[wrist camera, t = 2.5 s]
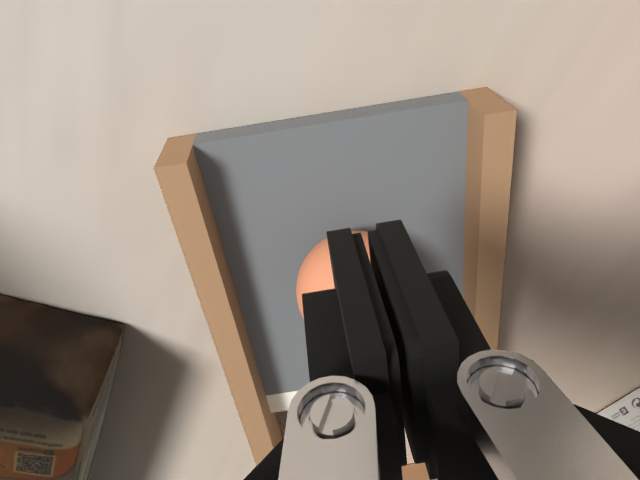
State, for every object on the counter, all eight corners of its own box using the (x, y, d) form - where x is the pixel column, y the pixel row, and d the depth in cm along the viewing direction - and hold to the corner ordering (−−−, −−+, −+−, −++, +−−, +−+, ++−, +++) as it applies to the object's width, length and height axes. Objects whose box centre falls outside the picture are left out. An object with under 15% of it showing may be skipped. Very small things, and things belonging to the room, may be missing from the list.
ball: (285, 218, 22) (288, 289, 18) (397, 200, 22) (428, 267, 18) (302, 305, 25) (309, 384, 20) (402, 289, 25) (430, 365, 20)
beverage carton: (-46, 500, 33) (-111, 617, 27) (-40, 274, 24) (-135, 381, 18) (81, 514, 35) (46, 626, 29) (132, 312, 26) (94, 419, 20)
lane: (167, 138, 21) (141, 193, 17) (486, 87, 21) (542, 128, 17) (281, 497, 35) (283, 574, 31) (468, 467, 35) (495, 541, 31)
